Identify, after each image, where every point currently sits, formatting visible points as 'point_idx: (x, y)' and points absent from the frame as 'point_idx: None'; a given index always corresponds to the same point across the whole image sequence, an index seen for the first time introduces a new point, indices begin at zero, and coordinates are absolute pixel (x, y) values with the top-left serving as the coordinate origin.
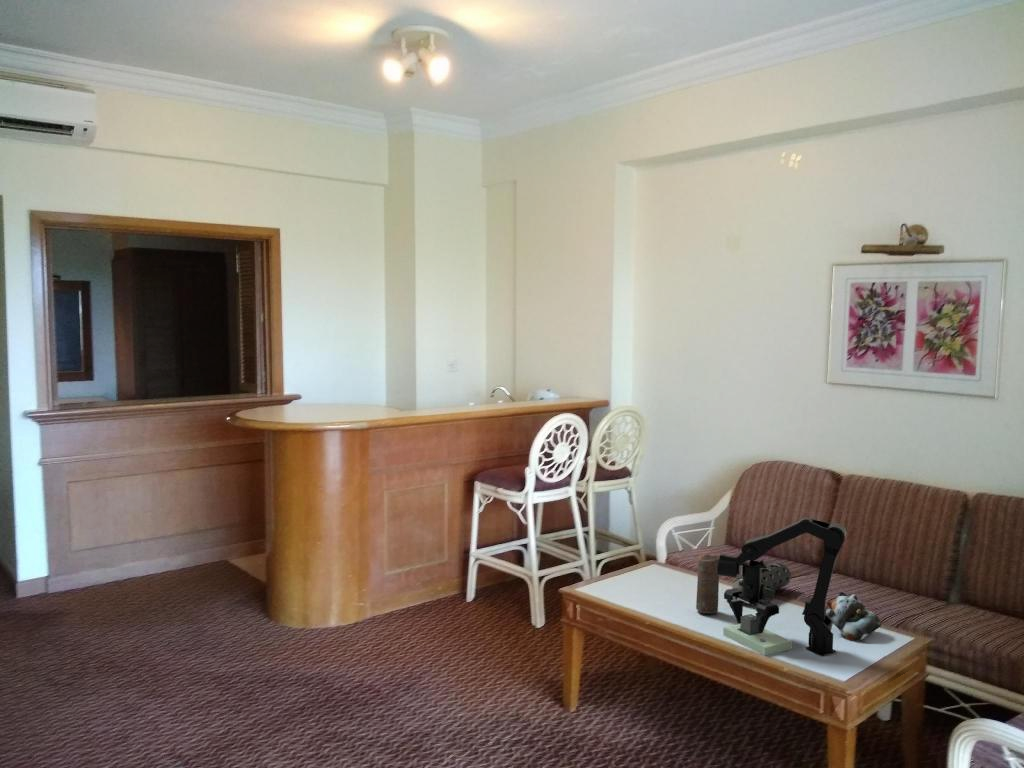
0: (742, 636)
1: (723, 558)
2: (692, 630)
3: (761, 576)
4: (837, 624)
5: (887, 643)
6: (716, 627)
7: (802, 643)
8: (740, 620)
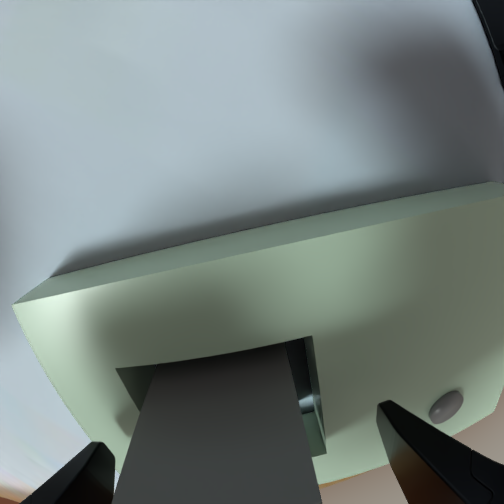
0: (320, 483)
1: None
2: None
3: None
4: None
5: None
6: (45, 427)
7: (425, 21)
8: (100, 467)
